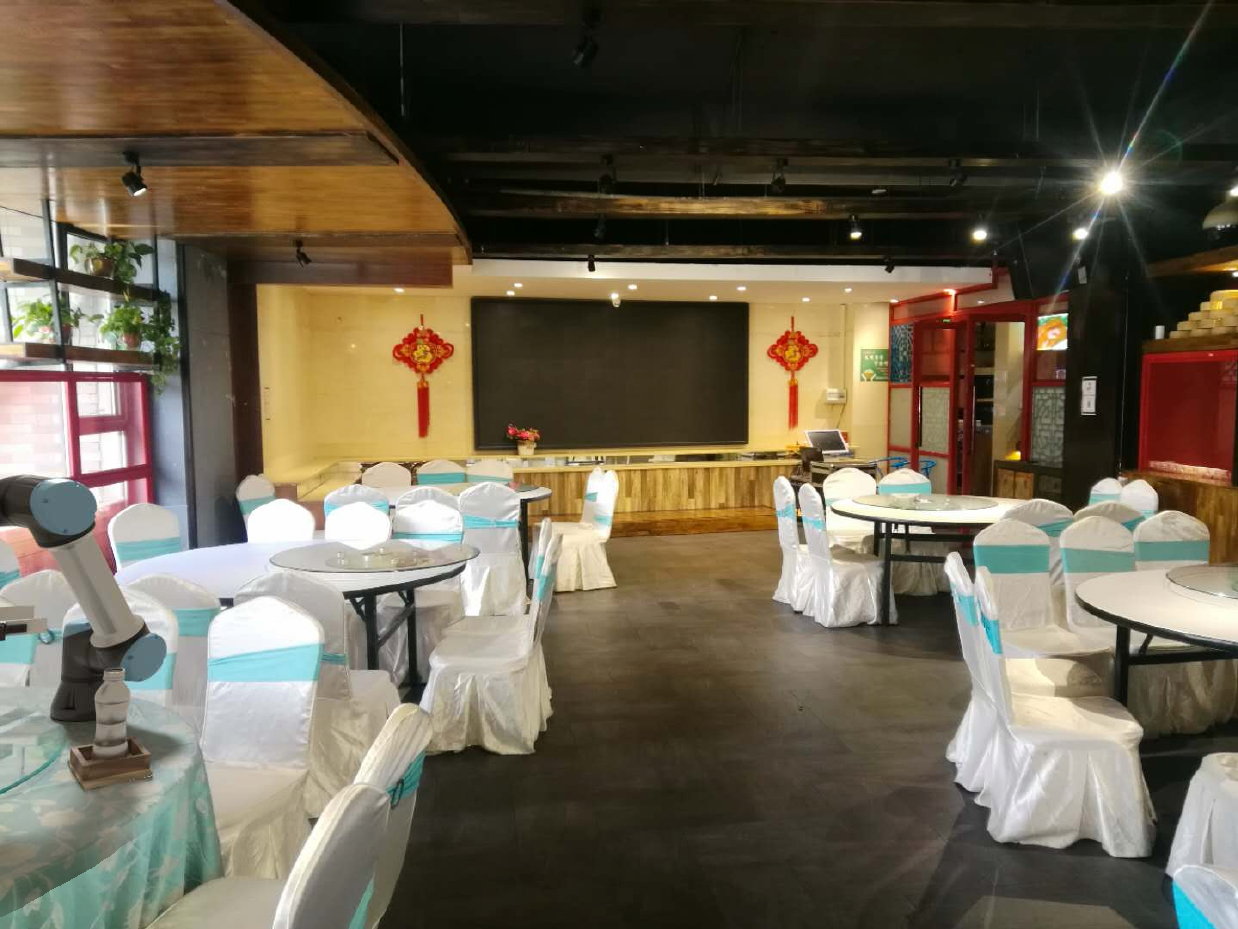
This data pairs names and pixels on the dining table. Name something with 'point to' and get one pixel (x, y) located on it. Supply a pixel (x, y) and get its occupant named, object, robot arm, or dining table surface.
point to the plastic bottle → (111, 717)
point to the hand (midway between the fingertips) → (40, 618)
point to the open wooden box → (109, 765)
